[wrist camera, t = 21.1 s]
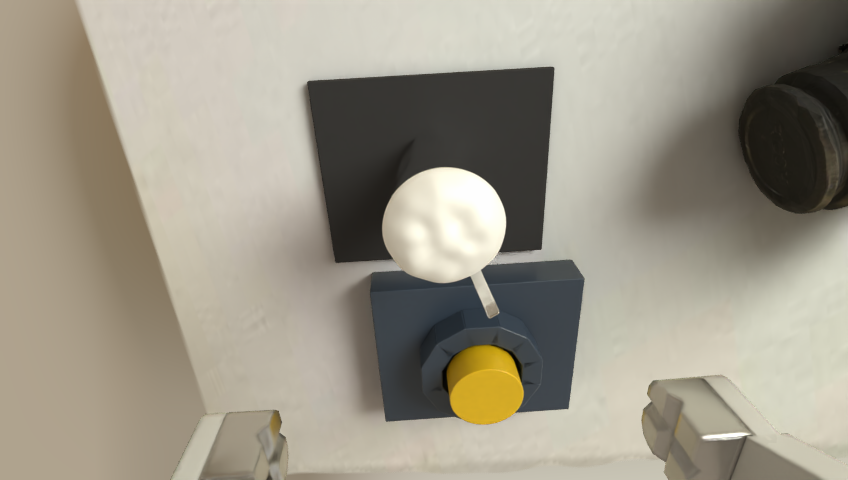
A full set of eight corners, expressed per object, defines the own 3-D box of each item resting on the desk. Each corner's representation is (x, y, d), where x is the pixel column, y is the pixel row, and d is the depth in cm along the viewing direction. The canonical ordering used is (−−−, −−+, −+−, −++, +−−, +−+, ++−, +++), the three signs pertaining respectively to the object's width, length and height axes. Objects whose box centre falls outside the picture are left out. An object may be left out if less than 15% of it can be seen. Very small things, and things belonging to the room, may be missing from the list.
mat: (336, 259, 27) (335, 263, 26) (308, 80, 22) (306, 82, 22) (539, 246, 27) (541, 249, 27) (552, 66, 23) (554, 67, 22)
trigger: (447, 399, 27) (450, 427, 25) (445, 346, 26) (448, 372, 24) (514, 395, 27) (522, 422, 26) (516, 341, 26) (525, 367, 24)
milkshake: (427, 230, 26) (440, 345, 17) (371, 152, 24) (352, 235, 15) (497, 188, 25) (551, 286, 16) (446, 102, 23) (474, 160, 14)
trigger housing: (386, 396, 32) (384, 445, 28) (372, 272, 27) (367, 311, 24) (558, 384, 32) (578, 431, 28) (571, 259, 28) (597, 296, 24)
